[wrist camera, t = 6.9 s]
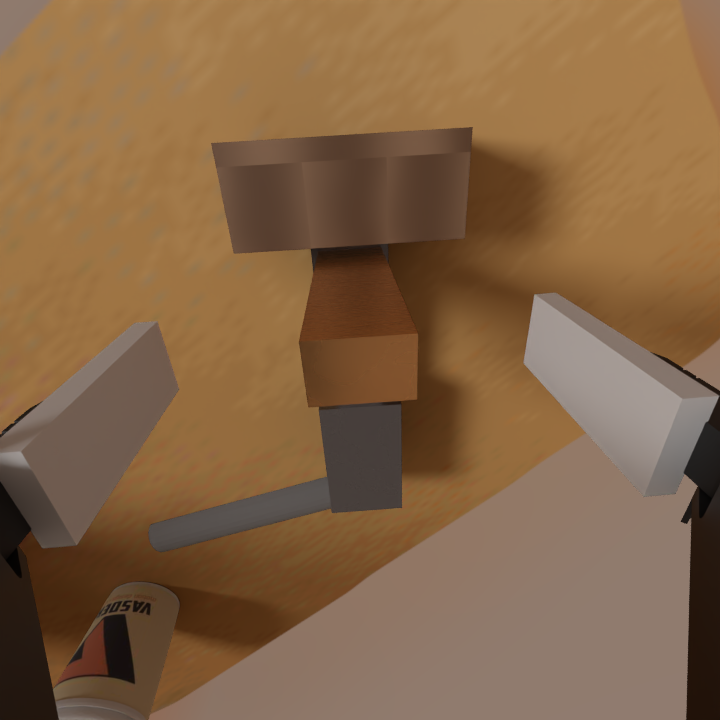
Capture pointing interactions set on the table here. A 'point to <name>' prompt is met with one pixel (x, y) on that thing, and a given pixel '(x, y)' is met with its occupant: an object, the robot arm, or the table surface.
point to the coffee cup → (120, 656)
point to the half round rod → (241, 515)
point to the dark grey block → (363, 455)
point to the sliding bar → (357, 330)
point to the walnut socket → (345, 189)
